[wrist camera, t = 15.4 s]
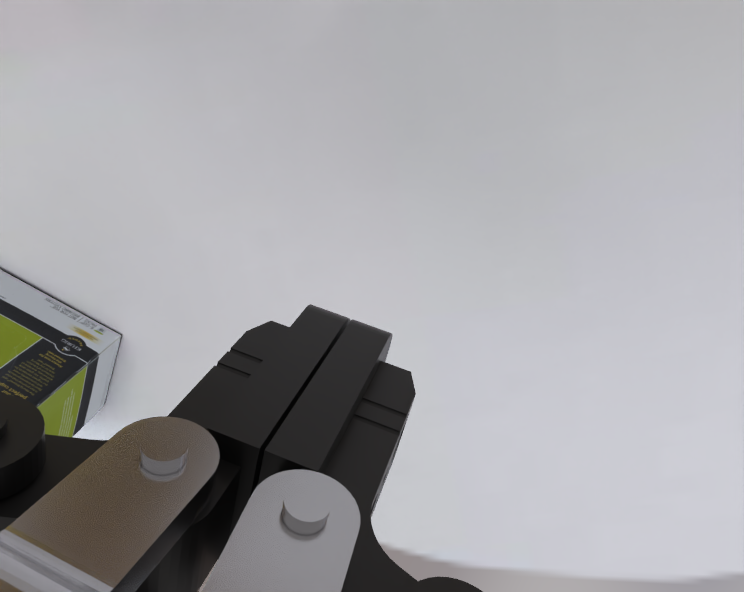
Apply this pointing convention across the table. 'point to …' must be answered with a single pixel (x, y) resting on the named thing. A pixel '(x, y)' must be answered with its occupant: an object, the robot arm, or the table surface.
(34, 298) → the tea box
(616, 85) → the table surface
